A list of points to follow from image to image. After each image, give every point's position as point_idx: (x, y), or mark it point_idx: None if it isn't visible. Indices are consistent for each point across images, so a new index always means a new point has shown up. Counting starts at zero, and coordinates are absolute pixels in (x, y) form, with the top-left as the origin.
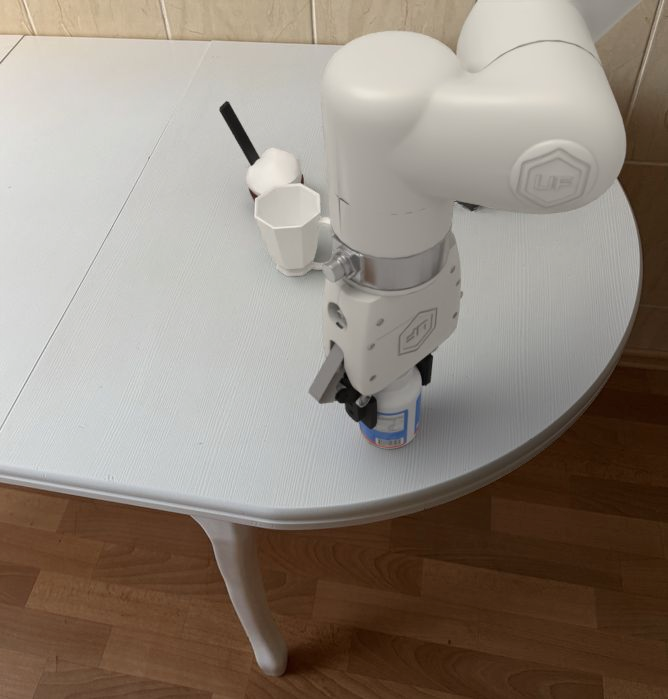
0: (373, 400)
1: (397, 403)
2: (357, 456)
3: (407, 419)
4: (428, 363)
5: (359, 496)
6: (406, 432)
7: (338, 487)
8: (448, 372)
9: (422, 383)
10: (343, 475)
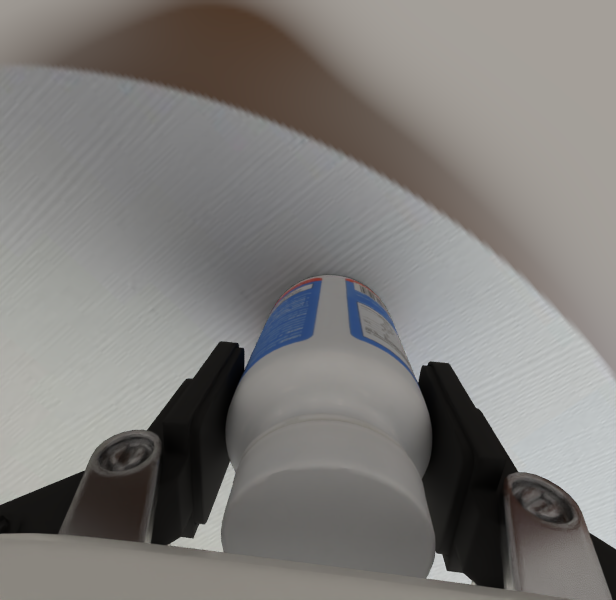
0: (486, 464)
1: (384, 378)
2: (427, 329)
3: (349, 313)
4: (196, 408)
5: (500, 269)
6: (347, 292)
7: (508, 312)
8: (155, 320)
9: (241, 355)
10: (479, 322)
